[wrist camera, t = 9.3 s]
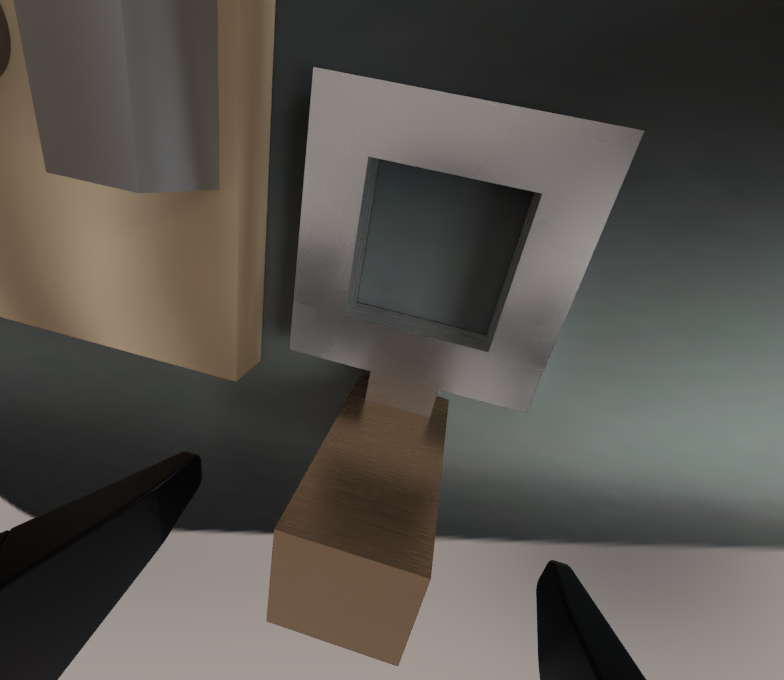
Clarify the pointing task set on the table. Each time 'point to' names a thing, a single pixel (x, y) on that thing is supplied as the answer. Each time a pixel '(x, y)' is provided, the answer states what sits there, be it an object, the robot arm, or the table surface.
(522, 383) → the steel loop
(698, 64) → the table surface
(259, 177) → the maple peg board
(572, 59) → the table surface
